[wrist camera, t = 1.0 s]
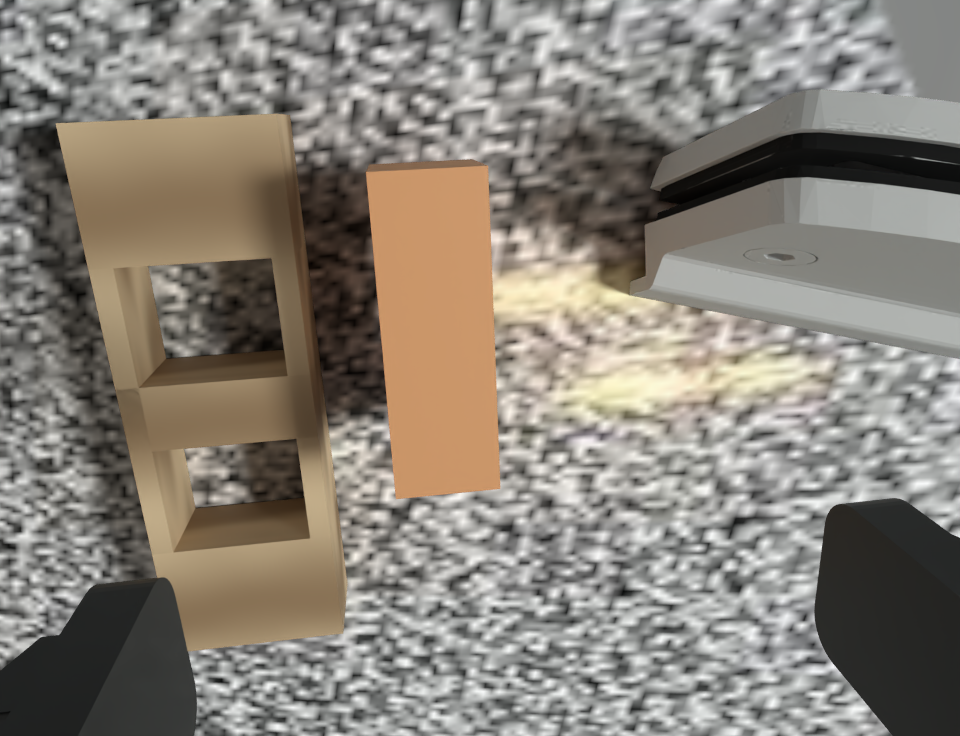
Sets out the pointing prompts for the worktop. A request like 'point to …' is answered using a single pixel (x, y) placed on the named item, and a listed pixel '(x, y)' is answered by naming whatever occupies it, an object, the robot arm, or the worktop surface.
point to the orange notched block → (436, 323)
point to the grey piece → (819, 219)
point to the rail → (213, 365)
